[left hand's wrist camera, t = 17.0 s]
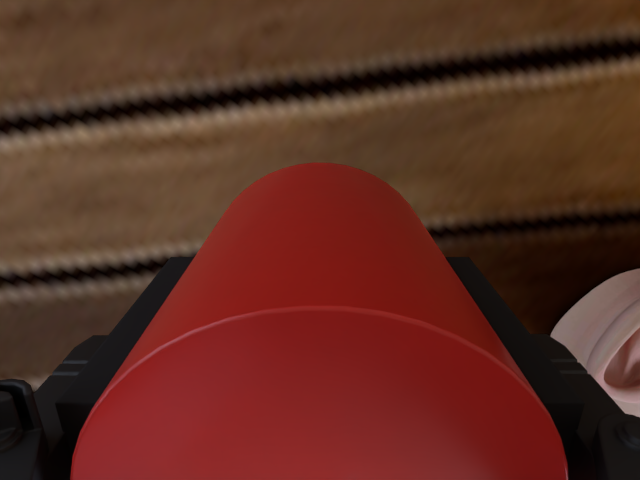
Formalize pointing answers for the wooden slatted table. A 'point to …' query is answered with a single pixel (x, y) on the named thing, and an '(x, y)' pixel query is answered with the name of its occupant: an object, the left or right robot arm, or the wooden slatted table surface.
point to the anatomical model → (608, 337)
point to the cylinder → (319, 355)
